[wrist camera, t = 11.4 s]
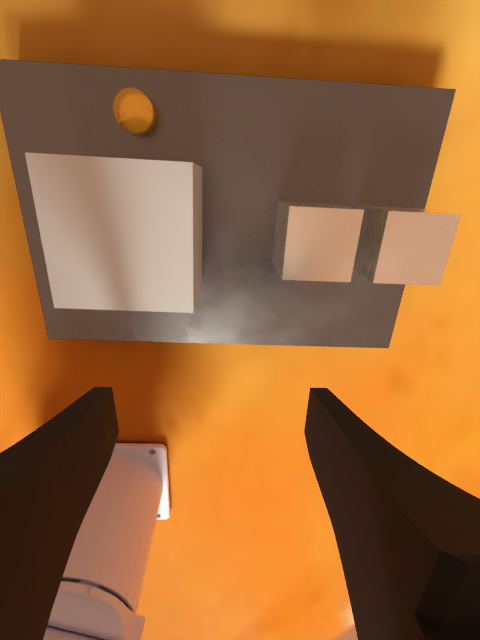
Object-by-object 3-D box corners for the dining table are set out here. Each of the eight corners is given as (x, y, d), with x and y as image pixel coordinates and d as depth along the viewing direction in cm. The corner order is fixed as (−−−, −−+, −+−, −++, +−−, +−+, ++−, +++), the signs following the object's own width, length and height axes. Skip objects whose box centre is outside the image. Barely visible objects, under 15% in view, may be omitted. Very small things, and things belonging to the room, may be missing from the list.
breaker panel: (64, 324, 20) (10, 372, 15) (18, 73, 15) (-88, 19, 10) (374, 333, 21) (420, 381, 16) (429, 99, 16) (521, 62, 11)
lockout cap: (96, 277, 17) (54, 307, 13) (81, 160, 15) (24, 152, 11) (201, 281, 17) (193, 312, 13) (202, 167, 15) (192, 162, 11)
